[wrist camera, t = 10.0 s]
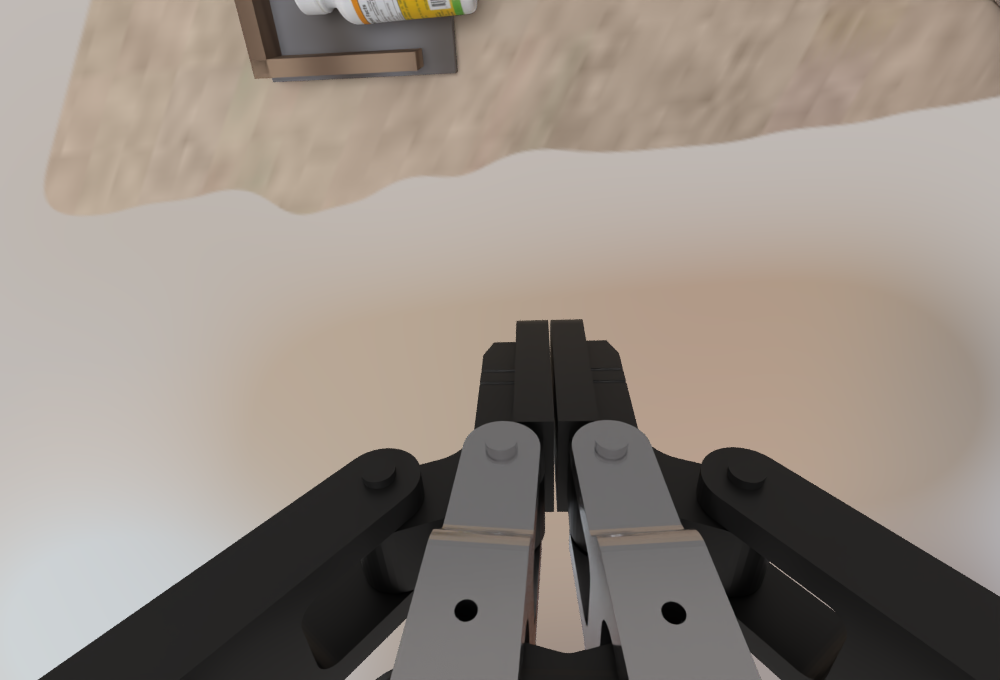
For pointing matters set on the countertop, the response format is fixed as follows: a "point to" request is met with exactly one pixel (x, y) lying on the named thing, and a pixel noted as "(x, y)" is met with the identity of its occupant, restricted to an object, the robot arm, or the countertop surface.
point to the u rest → (341, 44)
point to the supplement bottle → (387, 9)
